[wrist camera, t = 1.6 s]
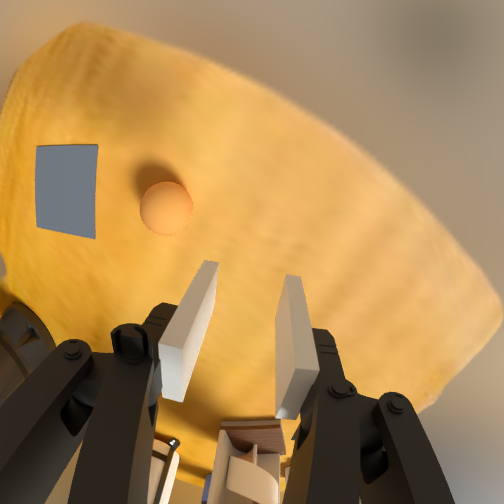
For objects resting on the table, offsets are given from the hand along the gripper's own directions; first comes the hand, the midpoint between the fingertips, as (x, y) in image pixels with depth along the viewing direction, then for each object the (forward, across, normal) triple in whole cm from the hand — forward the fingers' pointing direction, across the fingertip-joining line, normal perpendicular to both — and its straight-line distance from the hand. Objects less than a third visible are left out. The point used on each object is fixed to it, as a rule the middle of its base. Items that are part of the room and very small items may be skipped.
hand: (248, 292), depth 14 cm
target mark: (+17, -26, 0) cm, 31 cm away
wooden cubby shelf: (+17, +6, -41) cm, 45 cm away
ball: (+14, -10, 0) cm, 17 cm away
